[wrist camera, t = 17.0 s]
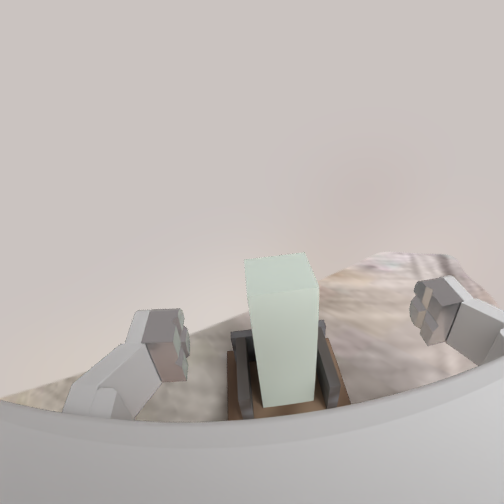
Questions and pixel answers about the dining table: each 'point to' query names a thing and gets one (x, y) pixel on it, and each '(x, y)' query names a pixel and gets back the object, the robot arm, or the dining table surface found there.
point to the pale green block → (284, 326)
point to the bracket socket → (248, 386)
